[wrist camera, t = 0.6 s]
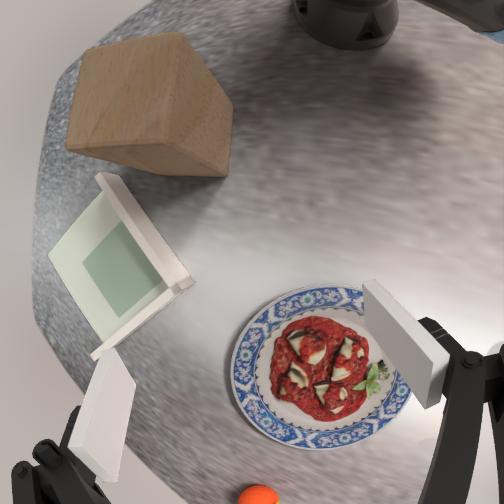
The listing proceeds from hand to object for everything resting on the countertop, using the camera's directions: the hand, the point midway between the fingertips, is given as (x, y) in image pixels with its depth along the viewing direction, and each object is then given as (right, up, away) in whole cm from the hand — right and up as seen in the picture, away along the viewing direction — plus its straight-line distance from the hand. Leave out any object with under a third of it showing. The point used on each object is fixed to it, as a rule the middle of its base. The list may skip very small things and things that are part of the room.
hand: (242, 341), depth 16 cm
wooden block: (-7, +19, +26) cm, 33 cm away
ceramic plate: (+11, -12, +26) cm, 31 cm away
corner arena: (-21, +2, +30) cm, 36 cm away
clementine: (+3, -37, +30) cm, 48 cm away
